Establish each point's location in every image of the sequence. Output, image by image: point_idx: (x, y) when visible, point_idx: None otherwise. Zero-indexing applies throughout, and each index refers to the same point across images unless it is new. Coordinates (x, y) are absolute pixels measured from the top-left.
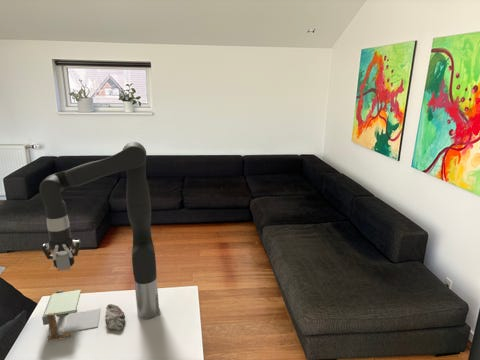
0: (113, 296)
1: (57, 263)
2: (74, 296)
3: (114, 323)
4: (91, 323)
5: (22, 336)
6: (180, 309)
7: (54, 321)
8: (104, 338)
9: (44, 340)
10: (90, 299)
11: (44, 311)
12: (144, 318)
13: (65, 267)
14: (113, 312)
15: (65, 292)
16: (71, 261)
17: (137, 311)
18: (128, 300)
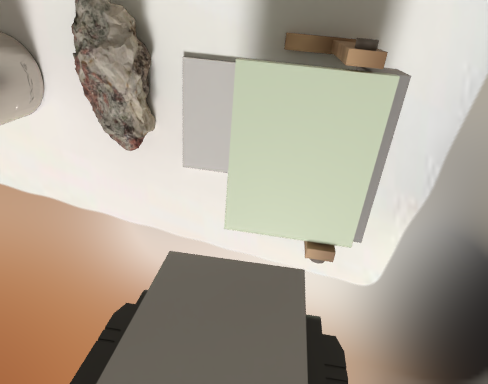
0: (147, 220)
1: (292, 354)
2: (248, 185)
3: (102, 17)
4: (208, 87)
5: (466, 113)
6: None
7: (346, 45)
8: None
9: (385, 51)
10: (223, 234)
11: (395, 127)
12: (7, 36)
13: (209, 278)
14: (109, 86)
15: (292, 235)
16: (118, 336)
17: (25, 71)
18: (92, 177)
